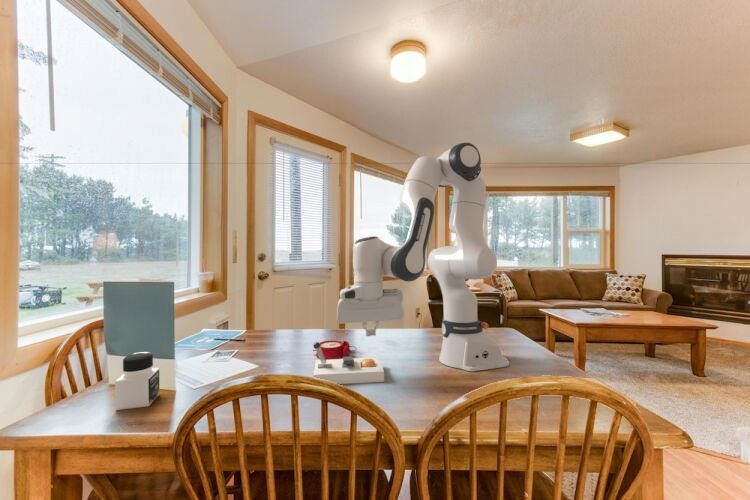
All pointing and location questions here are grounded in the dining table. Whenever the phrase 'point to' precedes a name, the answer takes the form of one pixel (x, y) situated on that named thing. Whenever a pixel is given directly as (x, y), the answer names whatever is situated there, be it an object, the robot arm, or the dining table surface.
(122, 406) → the medicine bottle
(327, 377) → the panel
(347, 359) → the rocker
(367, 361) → the button
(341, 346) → the alarm clock
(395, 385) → the dining table surface
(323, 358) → the lever
